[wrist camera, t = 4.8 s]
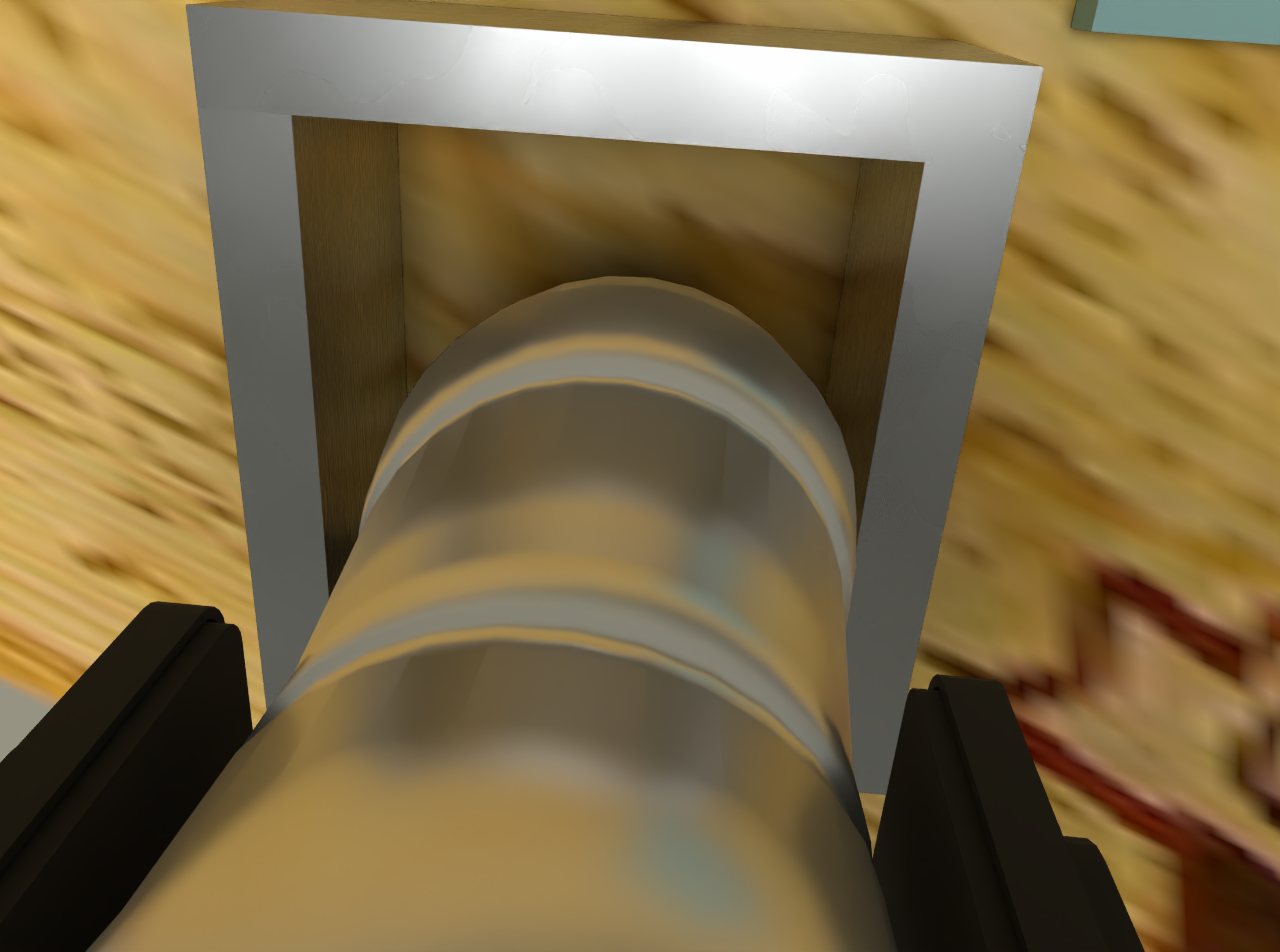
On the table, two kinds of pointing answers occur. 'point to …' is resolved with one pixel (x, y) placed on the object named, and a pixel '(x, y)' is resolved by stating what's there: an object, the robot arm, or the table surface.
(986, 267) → the square socket
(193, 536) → the table surface
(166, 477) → the table surface
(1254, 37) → the board
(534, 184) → the table surface
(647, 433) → the plastic bottle
